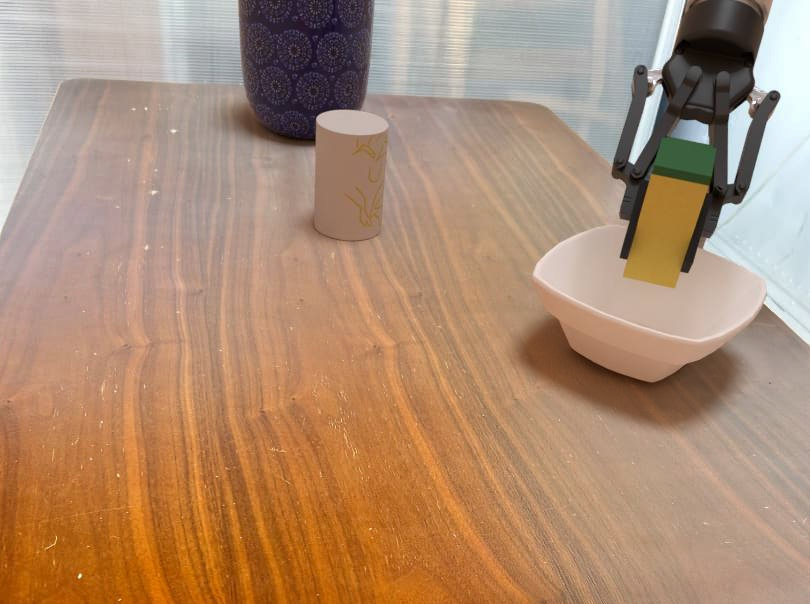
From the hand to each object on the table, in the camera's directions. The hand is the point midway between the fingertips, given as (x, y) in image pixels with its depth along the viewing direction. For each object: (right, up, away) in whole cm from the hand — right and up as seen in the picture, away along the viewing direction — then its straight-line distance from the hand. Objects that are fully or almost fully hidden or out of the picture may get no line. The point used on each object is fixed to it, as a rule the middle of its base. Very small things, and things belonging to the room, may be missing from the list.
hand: (655, 259), depth 81 cm
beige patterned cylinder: (-30, +12, +26) cm, 42 cm away
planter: (-38, +35, +50) cm, 72 cm away
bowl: (0, -7, +10) cm, 12 cm away
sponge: (+1, +1, +5) cm, 5 cm away
